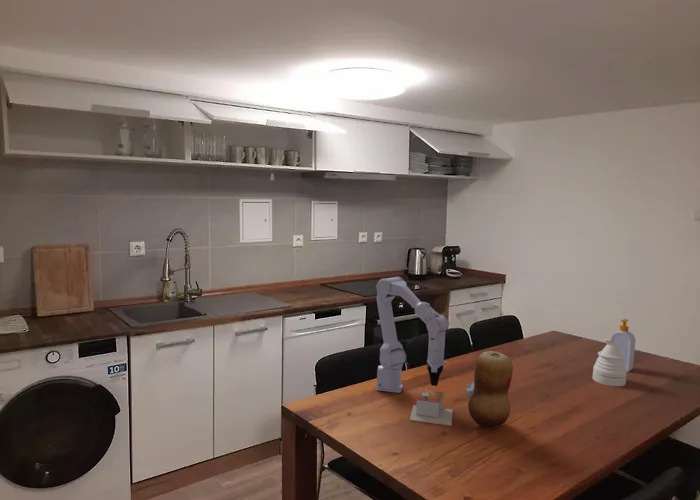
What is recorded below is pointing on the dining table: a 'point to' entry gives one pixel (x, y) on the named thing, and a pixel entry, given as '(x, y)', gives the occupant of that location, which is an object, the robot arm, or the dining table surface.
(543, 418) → the dining table surface
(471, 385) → the stone block
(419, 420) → the mat
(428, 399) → the small box
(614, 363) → the honey pot
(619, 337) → the soap bottle
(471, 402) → the butternut squash
